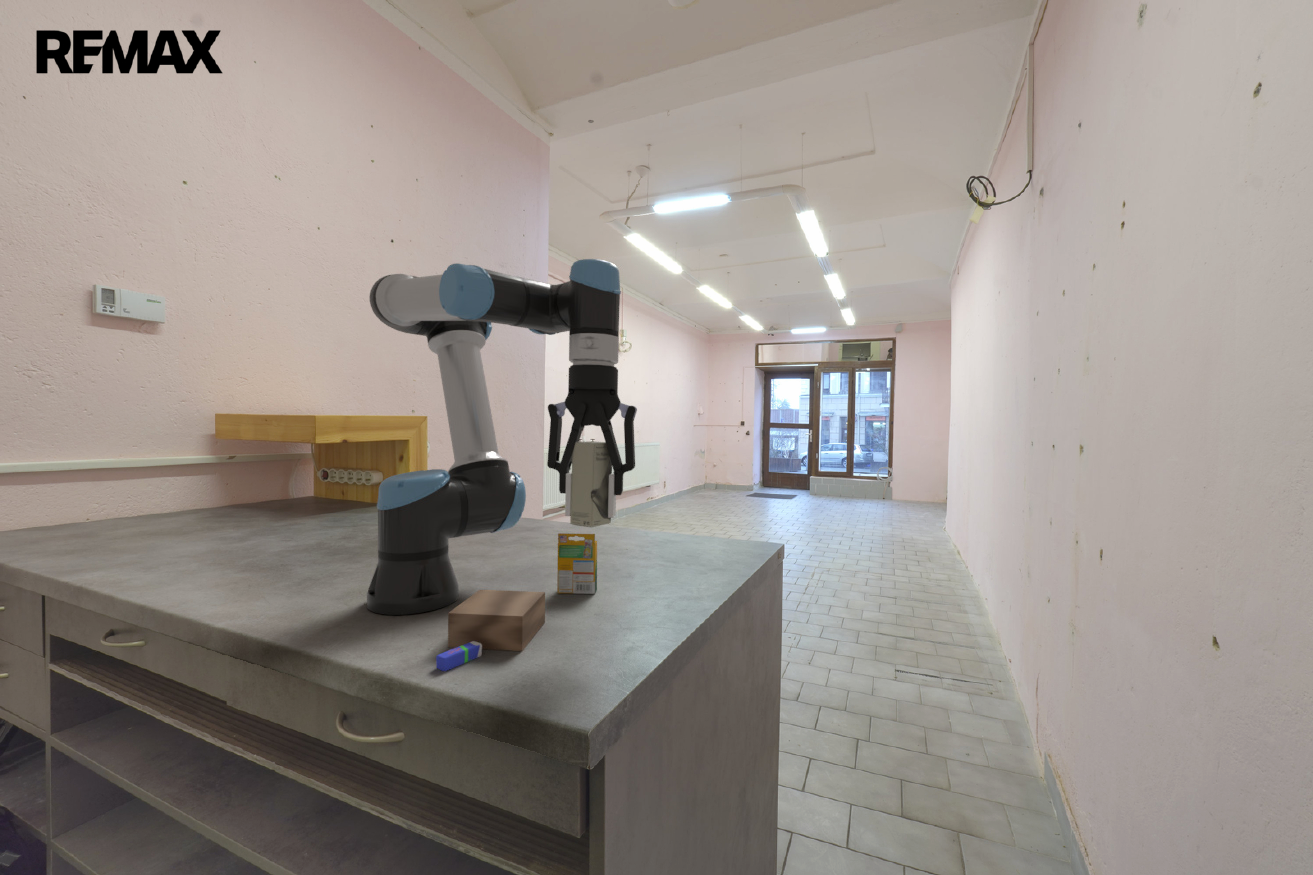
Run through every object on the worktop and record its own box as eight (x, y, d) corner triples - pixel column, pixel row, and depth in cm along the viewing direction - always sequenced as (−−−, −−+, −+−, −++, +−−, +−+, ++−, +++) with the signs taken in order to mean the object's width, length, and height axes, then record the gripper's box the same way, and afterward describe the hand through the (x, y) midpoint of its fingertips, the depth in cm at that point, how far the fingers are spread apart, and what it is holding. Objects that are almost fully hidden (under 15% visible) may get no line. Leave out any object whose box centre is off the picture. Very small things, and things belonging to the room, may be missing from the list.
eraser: (482, 657, 75) (482, 643, 75) (444, 673, 70) (444, 658, 70) (473, 653, 76) (473, 639, 76) (435, 669, 71) (435, 654, 71)
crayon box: (597, 589, 105) (597, 531, 105) (595, 594, 102) (595, 534, 102) (560, 589, 105) (560, 530, 105) (557, 593, 102) (557, 533, 102)
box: (591, 529, 80) (593, 442, 79) (569, 525, 82) (570, 441, 81) (612, 523, 84) (614, 441, 84) (590, 520, 86) (591, 440, 86)
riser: (448, 647, 77) (448, 613, 77) (479, 619, 88) (479, 589, 88) (522, 651, 76) (522, 616, 76) (544, 622, 87) (545, 592, 87)
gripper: (525, 361, 79) (523, 517, 80) (653, 363, 77) (649, 522, 78) (539, 366, 86) (537, 509, 87) (656, 368, 85) (653, 513, 86)
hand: (590, 515), depth 83 cm, fingers closed on box, 6 cm apart
